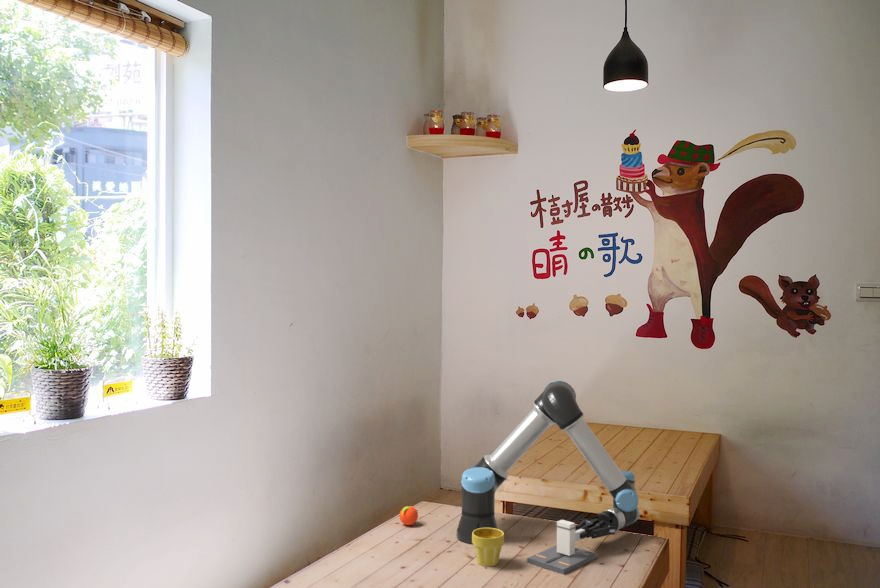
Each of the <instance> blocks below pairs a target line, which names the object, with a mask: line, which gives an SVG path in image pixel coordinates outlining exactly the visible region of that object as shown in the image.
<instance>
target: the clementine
mask: <svg viewBox="0 0 880 588" xmlns="http://www.w3.org/2000/svg"><path fill="white" fill-rule="evenodd" d="M418 518H419V513H418V510H417V509H416V508H415V507H414V506H412V505H406V506H404V507H403V508H402V509H401V510H400V511H399V520H400V522H401V523H402V524H403V525H405V526H412V525H414V524H415V523H416V522H417V521H418Z"/></svg>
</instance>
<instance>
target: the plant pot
mask: <svg viewBox="0 0 880 588" xmlns="http://www.w3.org/2000/svg"><path fill="white" fill-rule="evenodd" d="M472 543H473V546H474V550H475V555H476V556H475V557H476V561H477V564H478V565H480V566H483V567H495V566H496V565H498V564H499V560H500V555H501V551H502V546H504V544H505V531H503V530H501V529H499V528H498V529H496V528H479V529H475V530H474V531H473V532H472Z"/></svg>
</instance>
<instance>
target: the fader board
mask: <svg viewBox="0 0 880 588" xmlns="http://www.w3.org/2000/svg"><path fill="white" fill-rule="evenodd" d="M597 556H598V555H597V553H596V552H592V551H590V550H589V551H588V550H585V549H582V548H579V547H576V546H575V554H572V555H570V556H568V555H565V554H562V553H558V552H557V544H556V545H554V546H552V547H549V548H547V549H544V550H542V551H540V552H538V553H535V554H533V555H530V556H528V557H527V558H526V559H527V560H526V563H527V564H531V565H535V566H537V567H540V568H543V569H547V570H548V571H553V572H556V573H559V574H561V575H565V574H567V573H569V572H572V571H573V570H575V569H578V568H580V567H581V566H584V565H586V564H588V563H589V562H592V561H594V560H596V559H597Z"/></svg>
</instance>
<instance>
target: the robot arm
mask: <svg viewBox="0 0 880 588" xmlns="http://www.w3.org/2000/svg"><path fill="white" fill-rule="evenodd" d="M545 386H546V387H544V390H543V391H542V392H541V393H540V394H539V395H538V396H537V397H536V399H535V400H534V401H533V402H532V403H533V408H532V409H531V410H530V411H529V413H528V414H526V416H525V417H524V418H523V419H522V420H521V421H520V422H519V423H518V425H517V426H516V427H515V428H514V429H513V430H512V431H511V433H510V434H508V436H507V437H506V438H505V439H504V440H503V441H502V442H501V443H500V444H499V446H498V447H497V448H496V449H495V450H494V451H493V452H492V453H491V454H485V455H483V456H482V457H481V459H480V460H479V461H478V462H477V463H476V464H474V465H473V466H471V467H470V468H468V469H466V470H465V471H463V473H462V475H461V481H460V482H461V515H460V519H459V522H458V525H457V527H456V538H457V540H459V541H461V542H463V543H466V544H471V545H472V544H473V543H472V532H473V531H474V530H475V529H479V528H496V529H499V528H498V524H497V519H496V515H495V500H496V499H495V495H496V492H497V490H498V489H499V488H500V487H501V486H502V485H503V483H505V481H506V480H507V479H508V477H509V473H508V472H509V471H510V470H511V468H512V467H513V466H514V465H515V464H516V463H517V462H518V461H519V460H520V459H521V458H522V456H523V455H525V453H526V452H527V451H528V450H529V449H530V448H531V447H532V446H533V444H534V443H535V442H536V441H537V440H538V439H539V438H540V437H541V436H542V435H543V433H545V432H546V430H547V429H549V427H550V426H551V425H556V426H557V427H558V428H559V429H560V430H561V431H563V432H565V433H566V435H568V437H569V438H570V440H571V441H572V442H573V444H574V445H575V446H576V448H577V449H578V451H579V452H580V453H581V455H582V456H583V458H584V459H585V460H586V462H587V464H588V465H589V466H590V467H591V469H592V470H593V472H594V473H595V474H596V476H597V478H599V480H600V481H601V483H602V484H603V485H604V487H605V488H606V490H607V491H608V492H609V493H610V496H611V497H612V507H611V508H609V509H606V510H604V511H602V512H599V513H598V514H597V515H596V516H595V518H593V519H590V520H588V519H586V518H582V519H581V521H580V522H579V523H577V524H575V543H576V542H578V541H581V540H583V539H585V538H587V539H589V538H591V539H598V538H601V537H605V536H606V537H607V536H609V535H616V531H619V530H620V529H623V528H626V527H628V526H630V525H633V524H634V523H635V522H637V520H639V517H640V511H639V507H638V505H639V495H638V493H637V490H636V479H635V473H633V472H632V471H629V470H621V469H620V468H619V467H618V465H617V464H616V462H615V461H614V459H613V458H612V457H611V455H610V454H609V452H608V451H607V450H606V448H605V447H604V445H603V444H602V442H600V440H599V439H598V437H597V436H596V434H595V433H594V431H593V430H592V429H591V428H590V426H589V425H588V423H587V422H586V420H585V419H584V418H585V417H584V416H585V414H584V412H583V411H582V410H581V408H580V407H579V405H578V403H577V395H576V394H577V393H576V392H575V389H574V388H573V386H571V385H570V384H569V383H568V382H566V381H562V380H554V381H552V382H549V383H548V384H547V385H545Z"/></svg>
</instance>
